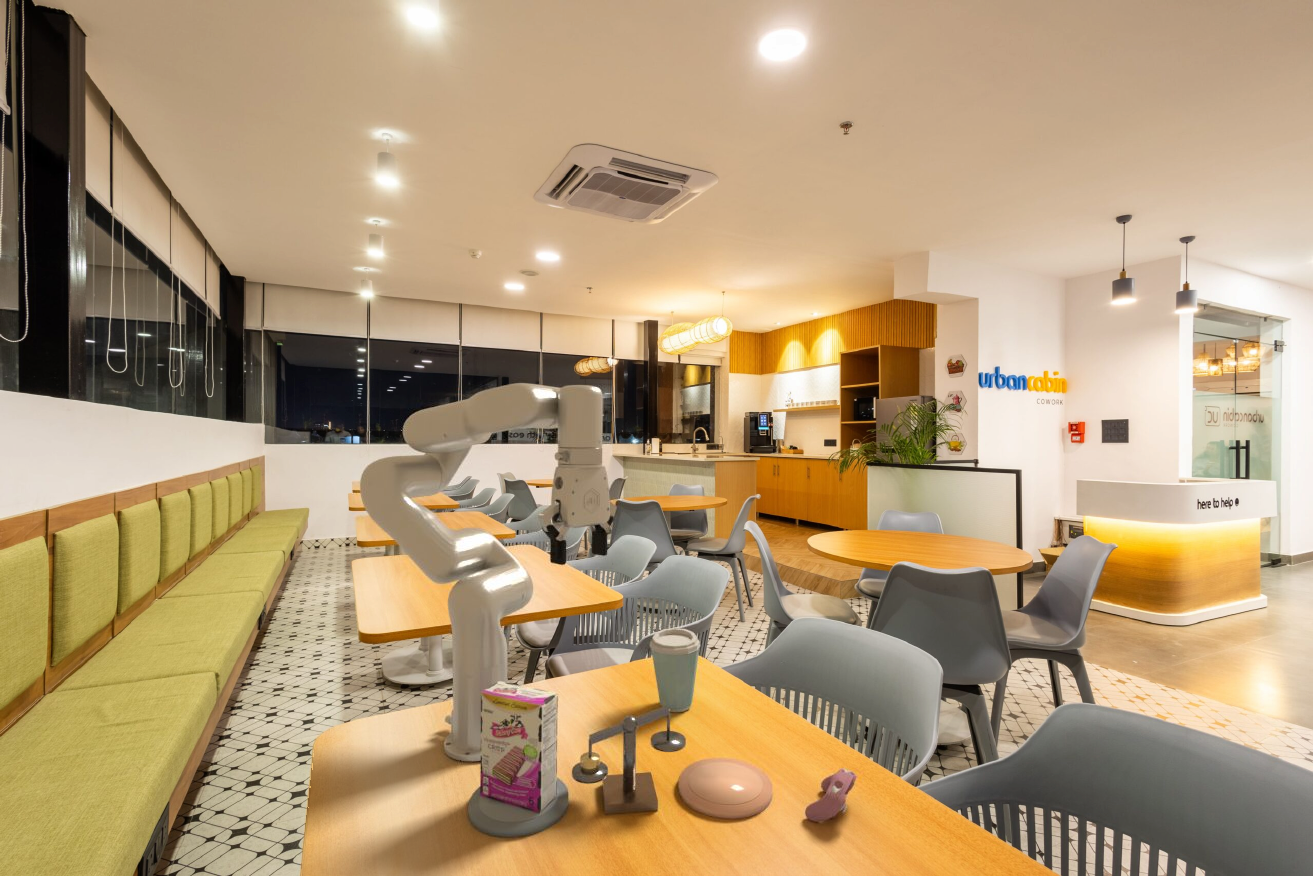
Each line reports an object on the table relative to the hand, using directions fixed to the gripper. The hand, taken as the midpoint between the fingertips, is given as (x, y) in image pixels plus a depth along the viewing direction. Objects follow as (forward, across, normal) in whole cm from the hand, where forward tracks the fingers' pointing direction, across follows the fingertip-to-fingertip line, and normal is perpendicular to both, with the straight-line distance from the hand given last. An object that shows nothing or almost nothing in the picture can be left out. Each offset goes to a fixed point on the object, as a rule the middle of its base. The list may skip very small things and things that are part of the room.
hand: (579, 559), depth 105 cm
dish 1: (+36, -13, 0) cm, 38 cm away
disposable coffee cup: (+36, +30, +2) cm, 47 cm away
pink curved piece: (+36, +17, -38) cm, 55 cm away
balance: (+36, 0, -12) cm, 38 cm away
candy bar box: (+35, -13, 0) cm, 37 cm away
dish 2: (+36, +11, -23) cm, 44 cm away
